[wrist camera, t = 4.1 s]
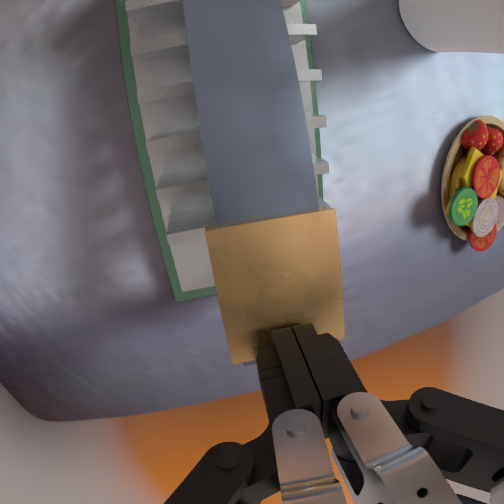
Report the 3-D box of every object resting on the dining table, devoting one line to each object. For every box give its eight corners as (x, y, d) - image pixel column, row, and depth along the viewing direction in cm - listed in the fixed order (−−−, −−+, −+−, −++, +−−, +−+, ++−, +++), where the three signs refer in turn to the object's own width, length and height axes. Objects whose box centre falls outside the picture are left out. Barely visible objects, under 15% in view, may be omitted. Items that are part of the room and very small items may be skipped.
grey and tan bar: (166, -74, 8) (163, -98, 6) (254, -82, 9) (260, -105, 7) (230, 349, 13) (234, 374, 11) (328, 327, 14) (345, 348, 12)
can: (414, 59, 19) (540, 65, 8) (382, -14, 16) (499, -49, 5) (462, 46, 18) (574, 55, 8) (436, -19, 15) (543, -36, 5)
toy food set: (523, 150, 24) (543, 158, 22) (483, 250, 30) (501, 264, 27) (461, 88, 21) (486, 92, 18) (412, 219, 26) (434, 234, 23)
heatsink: (114, -37, 12) (76, -97, 5) (291, -56, 14) (342, -116, 6) (176, 297, 25) (174, 385, 17) (321, 269, 26) (370, 342, 18)
